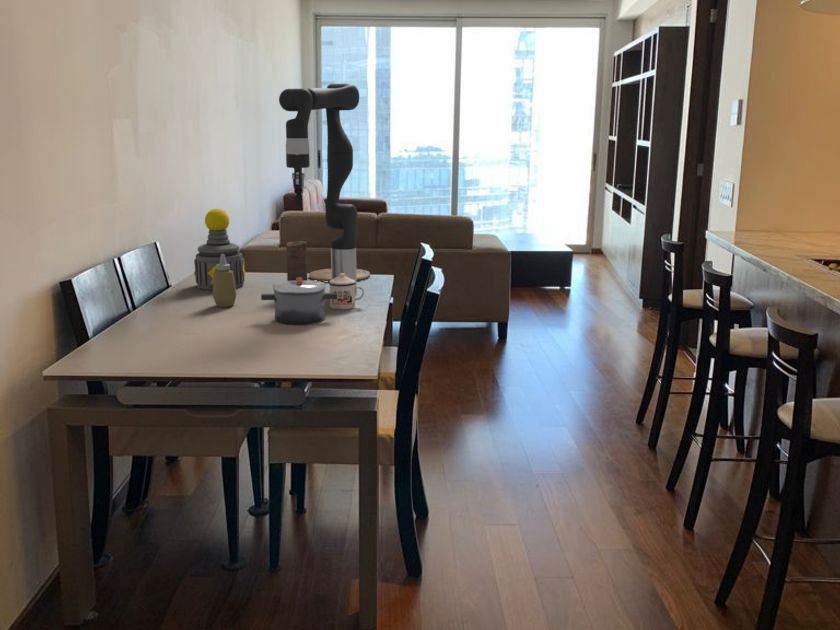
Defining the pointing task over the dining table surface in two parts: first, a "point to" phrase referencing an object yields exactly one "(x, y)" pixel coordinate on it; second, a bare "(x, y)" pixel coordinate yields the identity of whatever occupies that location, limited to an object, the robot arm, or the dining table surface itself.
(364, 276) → the trivet
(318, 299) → the cooker pot
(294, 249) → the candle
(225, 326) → the dining table surface
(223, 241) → the decorative lamp
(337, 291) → the teacup with lid
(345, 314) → the dining table surface
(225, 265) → the squeeze bottle
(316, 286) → the lid
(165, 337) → the dining table surface
